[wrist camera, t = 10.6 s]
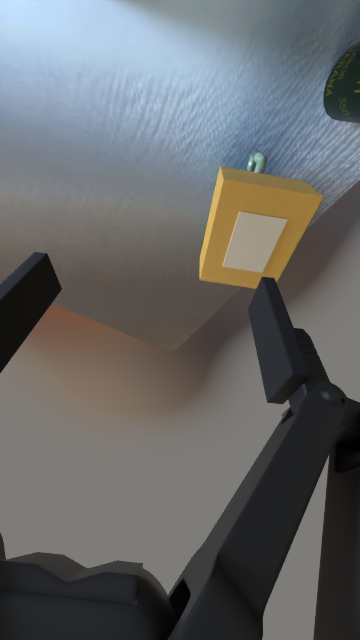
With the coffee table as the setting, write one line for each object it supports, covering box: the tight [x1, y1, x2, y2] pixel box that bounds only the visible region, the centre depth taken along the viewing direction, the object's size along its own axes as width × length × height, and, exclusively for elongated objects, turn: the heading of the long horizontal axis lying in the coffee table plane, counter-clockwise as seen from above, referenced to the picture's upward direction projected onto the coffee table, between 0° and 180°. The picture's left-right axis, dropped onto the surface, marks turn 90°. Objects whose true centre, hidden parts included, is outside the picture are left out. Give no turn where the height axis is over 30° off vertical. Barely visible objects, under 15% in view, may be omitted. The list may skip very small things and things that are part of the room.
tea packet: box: [200, 166, 324, 289], centre depth 23 cm, size 10×8×5 cm
